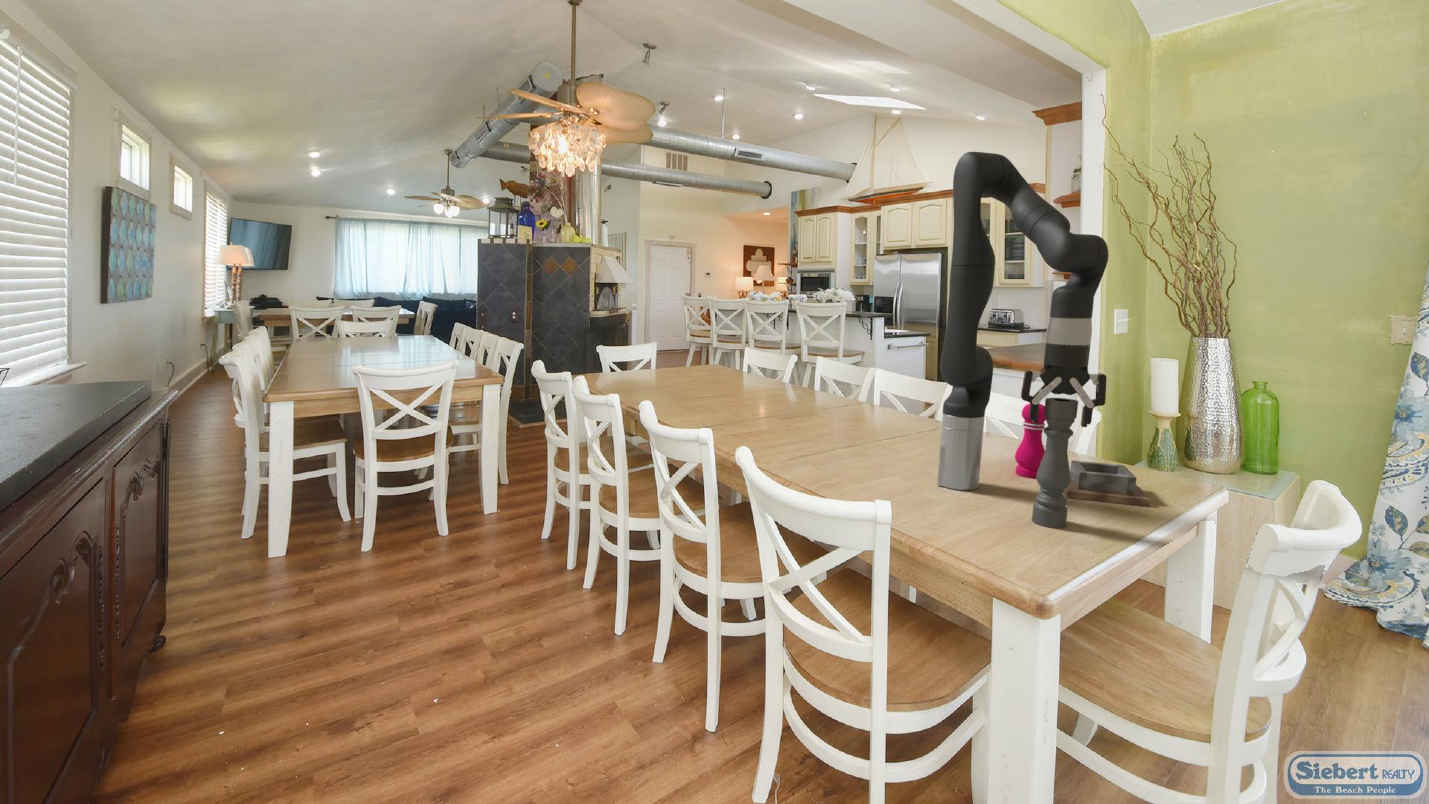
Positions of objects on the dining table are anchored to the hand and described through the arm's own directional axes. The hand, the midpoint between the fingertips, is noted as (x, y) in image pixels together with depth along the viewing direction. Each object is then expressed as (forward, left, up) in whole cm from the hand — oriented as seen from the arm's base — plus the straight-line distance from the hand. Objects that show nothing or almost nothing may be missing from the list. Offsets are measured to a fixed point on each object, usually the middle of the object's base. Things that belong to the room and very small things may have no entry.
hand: (1059, 424), depth 124 cm
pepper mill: (0, +36, -20) cm, 41 cm away
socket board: (+14, +27, -20) cm, 36 cm away
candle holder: (0, 0, -20) cm, 20 cm away
